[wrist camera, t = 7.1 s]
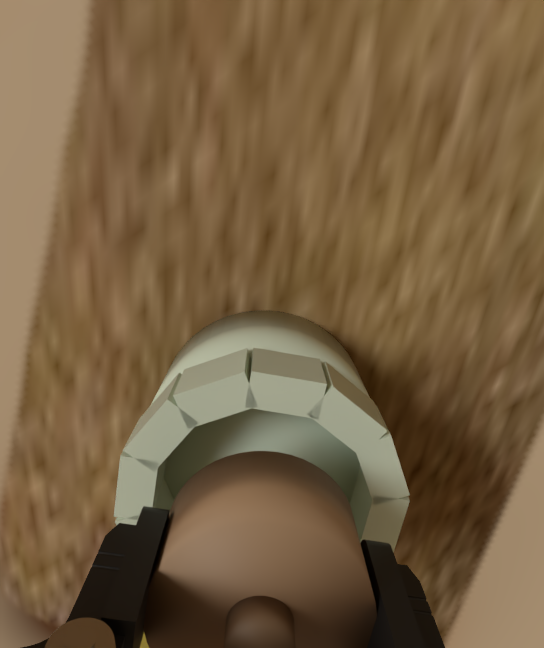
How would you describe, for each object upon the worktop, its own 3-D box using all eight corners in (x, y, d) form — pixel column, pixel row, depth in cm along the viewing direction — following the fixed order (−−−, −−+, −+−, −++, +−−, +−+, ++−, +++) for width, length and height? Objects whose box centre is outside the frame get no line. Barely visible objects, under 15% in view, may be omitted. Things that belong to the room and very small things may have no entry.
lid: (180, 436, 13) (148, 533, 10) (374, 467, 14) (413, 572, 10) (156, 593, 15) (121, 728, 11) (331, 617, 15) (352, 755, 12)
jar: (176, 293, 20) (132, 351, 14) (384, 330, 21) (441, 403, 14) (152, 476, 23) (104, 601, 16) (338, 504, 23) (366, 636, 17)
